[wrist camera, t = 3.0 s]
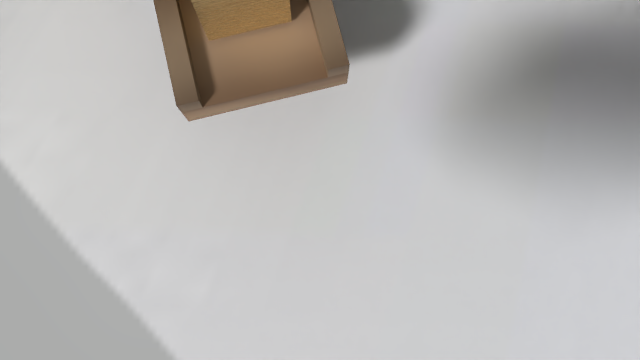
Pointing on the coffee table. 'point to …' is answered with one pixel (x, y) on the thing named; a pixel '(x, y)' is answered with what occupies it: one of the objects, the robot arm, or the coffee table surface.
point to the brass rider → (240, 15)
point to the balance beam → (250, 58)
